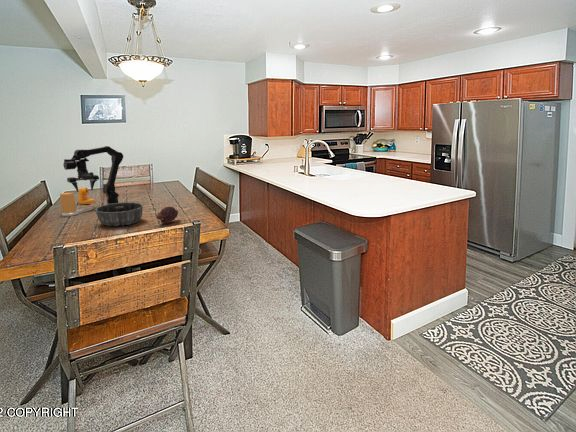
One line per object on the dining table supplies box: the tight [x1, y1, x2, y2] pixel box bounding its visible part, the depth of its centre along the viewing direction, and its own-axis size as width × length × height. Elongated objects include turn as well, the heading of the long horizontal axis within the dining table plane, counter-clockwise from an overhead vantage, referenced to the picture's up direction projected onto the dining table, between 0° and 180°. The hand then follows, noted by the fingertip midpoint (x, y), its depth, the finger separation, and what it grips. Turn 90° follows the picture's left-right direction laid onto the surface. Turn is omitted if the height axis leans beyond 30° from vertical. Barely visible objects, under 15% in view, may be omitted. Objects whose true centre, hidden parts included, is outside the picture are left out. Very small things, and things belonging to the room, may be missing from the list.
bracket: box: [77, 187, 95, 205], centre depth 282 cm, size 11×7×12 cm, turn 4°
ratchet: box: [61, 206, 94, 218], centre depth 253 cm, size 22×9×5 cm, turn 163°
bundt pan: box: [94, 201, 144, 227], centre depth 226 cm, size 26×26×10 cm
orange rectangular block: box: [59, 192, 77, 213], centre depth 246 cm, size 6×6×12 cm
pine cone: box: [155, 206, 179, 225], centre depth 226 cm, size 18×10×10 cm, turn 157°
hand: (85, 191), depth 260 cm, fingers open, 9 cm apart
